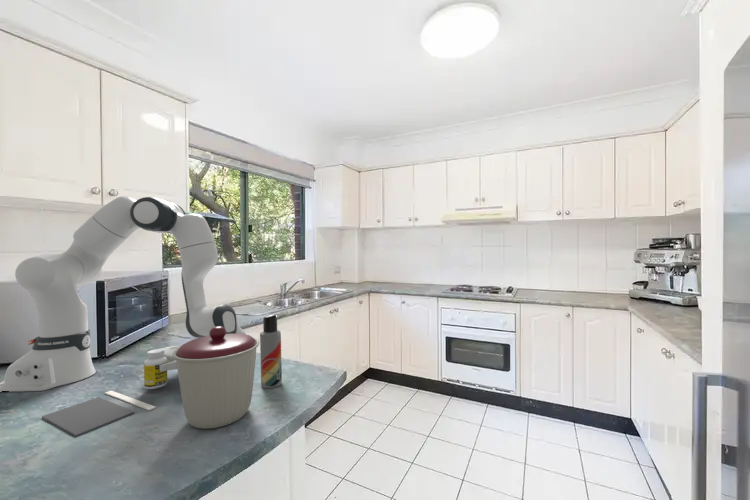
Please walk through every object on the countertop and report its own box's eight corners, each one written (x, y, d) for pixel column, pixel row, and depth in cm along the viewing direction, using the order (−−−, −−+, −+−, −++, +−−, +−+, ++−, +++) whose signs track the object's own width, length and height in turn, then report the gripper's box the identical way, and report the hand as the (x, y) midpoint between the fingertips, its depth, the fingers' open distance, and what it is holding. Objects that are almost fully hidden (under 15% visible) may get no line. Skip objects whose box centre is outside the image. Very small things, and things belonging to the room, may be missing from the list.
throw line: (104, 393, 89) (104, 392, 89) (111, 391, 90) (111, 390, 90) (149, 410, 79) (149, 409, 79) (155, 408, 80) (155, 406, 80)
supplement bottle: (155, 390, 87) (155, 354, 87) (139, 389, 88) (138, 353, 88) (172, 382, 93) (171, 348, 93) (156, 381, 94) (155, 347, 94)
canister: (199, 450, 62) (197, 341, 62) (159, 423, 73) (157, 330, 73) (276, 411, 77) (274, 323, 77) (233, 393, 88) (232, 315, 88)
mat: (41, 417, 76) (41, 416, 76) (98, 398, 86) (98, 396, 86) (75, 436, 68) (75, 435, 68) (134, 413, 78) (134, 411, 78)
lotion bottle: (273, 389, 89) (272, 317, 89) (256, 387, 91) (255, 316, 91) (285, 381, 94) (284, 313, 94) (269, 379, 96) (268, 312, 96)
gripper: (179, 338, 107) (132, 350, 95) (220, 346, 97) (173, 360, 85) (179, 357, 107) (132, 371, 95) (220, 367, 97) (173, 384, 85)
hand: (152, 366), depth 90 cm, fingers closed on supplement bottle, 5 cm apart
